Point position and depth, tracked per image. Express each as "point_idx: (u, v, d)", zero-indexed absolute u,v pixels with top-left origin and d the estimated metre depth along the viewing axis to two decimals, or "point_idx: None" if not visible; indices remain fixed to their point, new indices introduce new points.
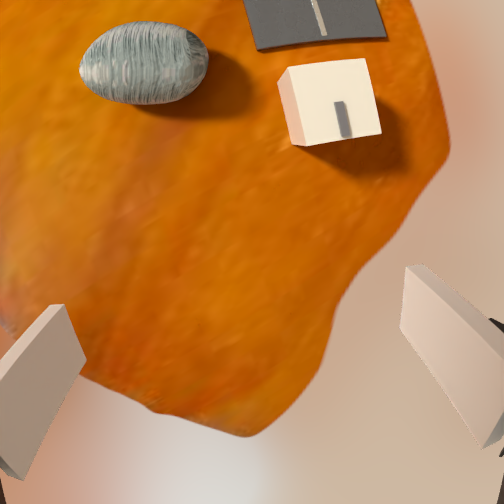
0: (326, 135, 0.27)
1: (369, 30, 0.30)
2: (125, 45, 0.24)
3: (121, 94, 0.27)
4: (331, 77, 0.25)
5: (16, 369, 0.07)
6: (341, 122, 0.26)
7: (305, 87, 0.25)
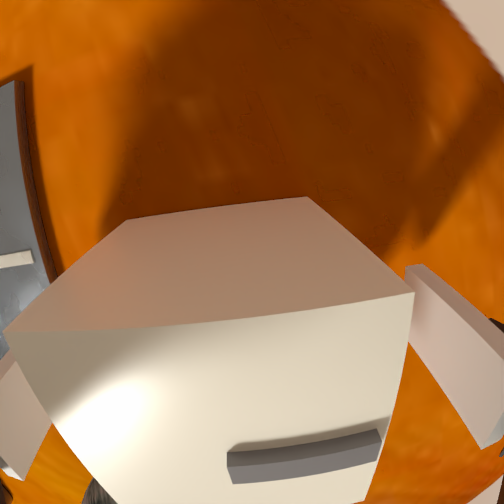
0: (351, 477, 0.07)
1: (3, 131, 0.10)
2: None
3: None
4: (130, 461, 0.06)
5: (16, 369, 0.07)
6: (321, 469, 0.06)
7: None
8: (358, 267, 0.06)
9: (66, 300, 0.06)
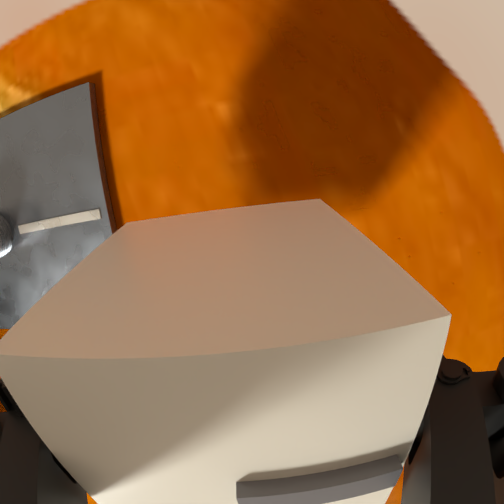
0: (366, 499, 0.06)
1: (79, 119, 0.16)
2: None
3: None
4: (131, 487, 0.05)
5: None
6: (337, 497, 0.05)
7: None
8: (386, 284, 0.05)
9: (57, 318, 0.05)
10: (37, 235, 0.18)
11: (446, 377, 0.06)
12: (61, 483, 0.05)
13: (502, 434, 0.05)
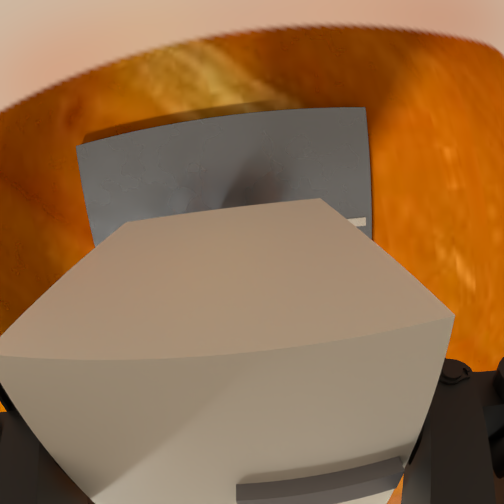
0: (367, 501, 0.06)
1: (356, 138, 0.20)
2: None
3: None
4: (129, 489, 0.05)
5: None
6: (338, 500, 0.05)
7: None
8: (388, 284, 0.05)
9: (55, 318, 0.05)
10: None
11: (446, 377, 0.06)
12: (61, 483, 0.05)
13: (502, 434, 0.05)
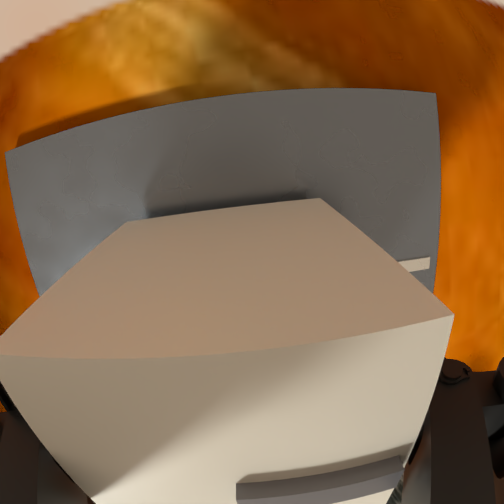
0: (367, 501, 0.06)
1: (424, 138, 0.12)
2: None
3: None
4: (130, 488, 0.05)
5: None
6: (338, 499, 0.05)
7: None
8: (388, 283, 0.05)
9: (55, 317, 0.05)
10: None
11: (446, 377, 0.06)
12: (61, 483, 0.05)
13: (502, 434, 0.05)
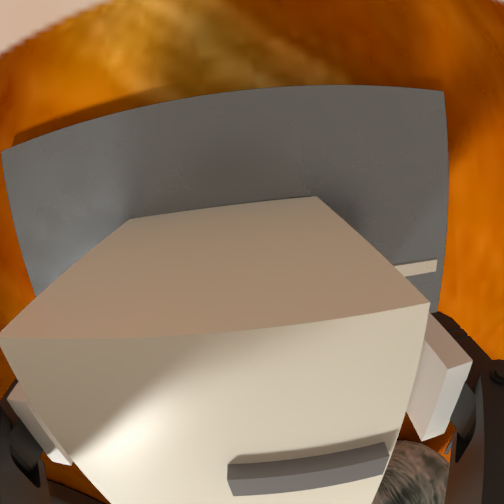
0: (356, 488, 0.06)
1: (432, 138, 0.12)
2: None
3: None
4: (128, 470, 0.06)
5: None
6: (325, 483, 0.05)
7: None
8: (369, 274, 0.05)
9: (61, 305, 0.05)
10: None
11: (499, 376, 0.05)
12: (23, 486, 0.04)
13: None
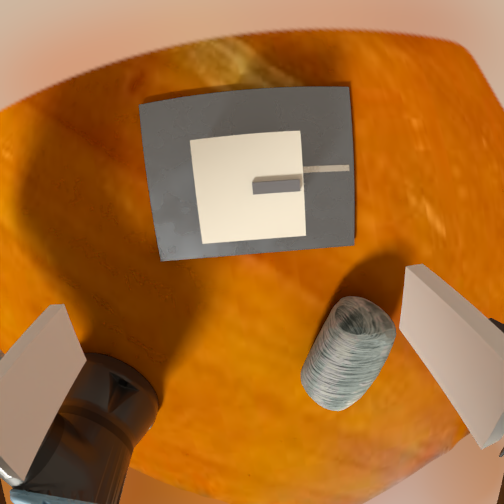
0: (295, 209, 0.22)
1: (342, 108, 0.28)
2: (344, 385, 0.30)
3: None
4: (218, 191, 0.22)
5: (16, 369, 0.07)
6: (281, 189, 0.21)
7: (230, 227, 0.23)
8: None
9: None
10: None
11: None
12: None
13: None
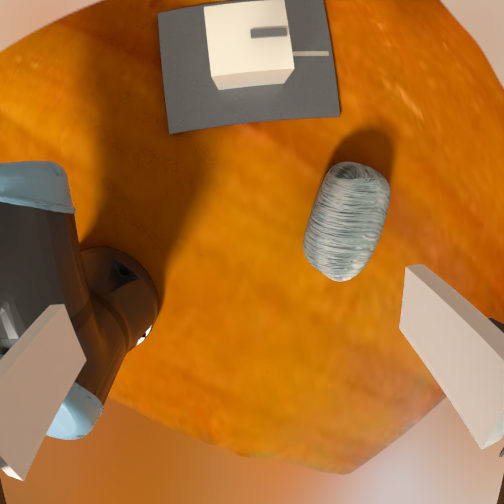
0: (284, 49, 0.25)
1: (318, 11, 0.30)
2: (348, 235, 0.32)
3: None
4: (224, 38, 0.24)
5: (16, 369, 0.07)
6: (272, 33, 0.24)
7: (233, 62, 0.25)
8: None
9: None
10: None
11: None
12: None
13: None
